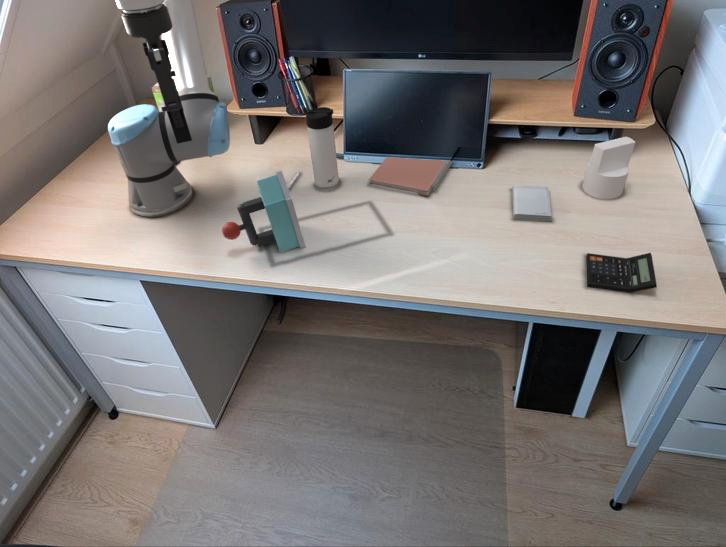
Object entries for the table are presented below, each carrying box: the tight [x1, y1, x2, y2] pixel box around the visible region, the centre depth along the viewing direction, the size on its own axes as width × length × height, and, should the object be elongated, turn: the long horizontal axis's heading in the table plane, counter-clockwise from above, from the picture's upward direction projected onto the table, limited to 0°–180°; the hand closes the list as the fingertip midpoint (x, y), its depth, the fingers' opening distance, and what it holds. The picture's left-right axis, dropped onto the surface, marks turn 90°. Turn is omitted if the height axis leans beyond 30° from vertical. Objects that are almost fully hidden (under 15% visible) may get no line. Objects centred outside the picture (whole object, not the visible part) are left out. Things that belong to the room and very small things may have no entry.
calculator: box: [585, 252, 658, 294], centre depth 101 cm, size 9×12×3 cm
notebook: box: [368, 156, 455, 197], centre depth 137 cm, size 27×17×2 cm, turn 155°
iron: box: [221, 170, 307, 253], centre depth 110 cm, size 17×9×16 cm
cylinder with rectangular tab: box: [581, 136, 636, 200], centre depth 120 cm, size 9×9×12 cm
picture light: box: [285, 171, 300, 190], centre depth 133 cm, size 14×4×2 cm, turn 163°
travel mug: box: [305, 106, 340, 190], centre depth 127 cm, size 6×7×20 cm
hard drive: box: [511, 184, 553, 223], centre depth 121 cm, size 2×8×12 cm
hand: (180, 125), depth 100 cm, fingers open, 13 cm apart
